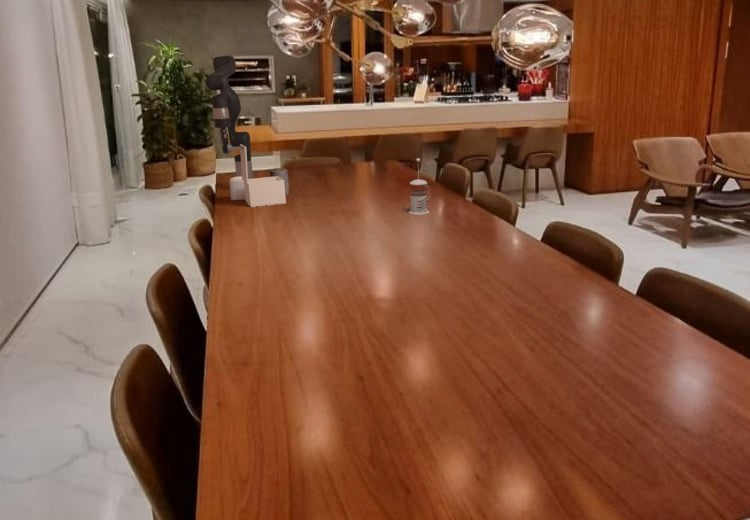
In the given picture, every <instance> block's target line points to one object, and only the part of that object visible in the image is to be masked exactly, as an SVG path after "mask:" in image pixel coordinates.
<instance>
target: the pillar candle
mask: <svg viewBox="0 0 750 520" xmlns="http://www.w3.org/2000/svg"><path fill="white" fill-rule="evenodd" d="M275 176H278V177H280V178H282V179H283V180H284V185H285V197H286V196H288V195H289V194H290V189H289V188H290V187H289V173H288V169H287V168H283V167H282V168H279V167H277V168H273V169H272V168H271V169H269V177H275Z"/></svg>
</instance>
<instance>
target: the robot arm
mask: <svg viewBox="0 0 750 520" xmlns="http://www.w3.org/2000/svg"><path fill="white" fill-rule="evenodd" d="M212 60H213V61H212V64H213V69H214V71H213V72H212V73H210V74H208V75H207V76H206V78H205V86H206V88H207V89H208V90H210V91H219V92H220V93H219V94H217V95H216V94H215V95H213V96H212V97H211V103H212V115H213V124H214V128H215V129H219V131H218V135H219V142H220V144H221V148H222V153H224V154H225V155H226V154H229V153H228V144H229V143H230V145H231V146H232V147H240V144H242V145H243V146H245V147H246V153H247V171H248V179H254V173H253V163H252V149H251V148H252V145H251V136H250V133H249V132H248V131H236V124H237V121H238V119H239V117H240V114H241V111H242V107H241V101H240V97H239V95H238V94H237V92H236V91H235V90H234V88H232V87H231V86H230V84H229V77H231V76H232V75H233V74H235V73H236V71H237V62H236V58H234V56H232V55H220V56H219V55H218V56H214V57H213V59H212ZM234 167H235V175H236V176H235V177H238V176H242V170H241V153H239V154H236V155H235V156H234Z"/></svg>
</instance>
